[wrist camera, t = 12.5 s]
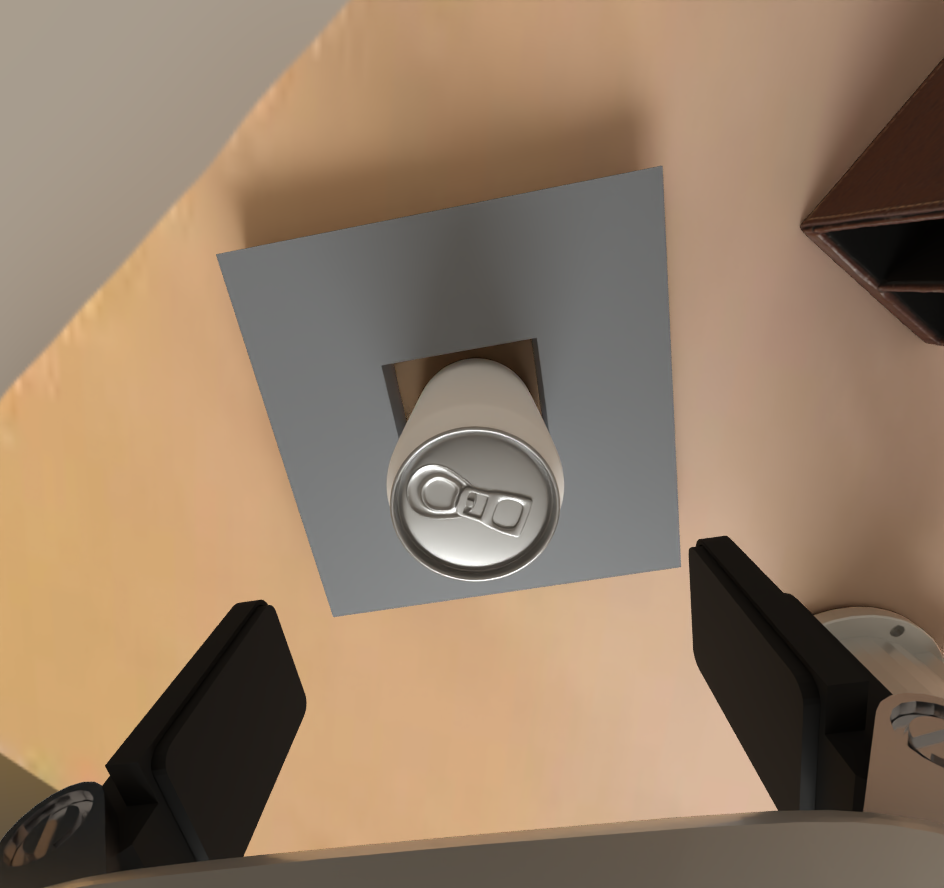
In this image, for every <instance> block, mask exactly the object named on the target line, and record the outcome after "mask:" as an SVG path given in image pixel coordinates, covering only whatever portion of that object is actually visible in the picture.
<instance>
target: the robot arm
mask: <svg viewBox="0 0 944 888" xmlns="http://www.w3.org/2000/svg"><path fill="white" fill-rule="evenodd" d="M689 572H690V592H691V613H692V634H693V651H694V656H695V660H696V663H697V666H698V668H699V670H700V671H701V673H702V675H703V677H704V679H705V680H706V682H707V684H708V686H709V688H710V689H711V691H712V693H713V695H714V697H715V698H716V700H717V702H718V704H719V706H720V707H721V709H722V711H723V713H724V714H725V716H726V718H727V720H728V722H729V723H730V725H731V727H732V729H733V731H734V732H735V734H736V736H737V738H738V740H739V741H740V743H741V745H742V747H743V749H744V750H745V752H746V754H747V756H748V757H749V759H750V761H751V763H752V765H753V766H754V768H755V770H756V772H757V774H758V775H759V777H760V779H761V781H762V783H763V784H764V786H765V788H766V790H767V791H768V793H769V795H770V797H771V799H772V800H773V802H774V804H775V806H776V808H777V809H778V811H766V812H751V813H736V814H721V815H706V816H691V817H676V818H663V819H651V820H640V821H628V822H616V823H605V824H593V825H581V826H569V827H558V828H546V829H534V830H523V831H512V832H501V833H490V834H479V835H468V836H457V837H445V838H434V839H424V840H413V841H402V842H391V843H381V844H370V845H359V846H348V847H338V848H328V849H318V850H308V851H298V852H288V853H277V854H267V855H257V856H247V857H243V856H244V854H245V851H246V849H247V847H248V844H249V842H250V840H251V838H252V835H253V833H254V831H255V828H256V826H257V824H258V821H259V819H260V817H261V814H262V812H263V810H264V807H265V805H266V803H267V800H268V798H269V796H270V793H271V791H272V789H273V787H274V784H275V782H276V780H277V777H278V775H279V773H280V770H281V768H282V766H283V763H284V761H285V759H286V756H287V754H288V752H289V749H290V747H291V745H292V743H293V740H294V738H295V736H296V733H297V731H298V729H299V726H300V724H301V722H302V719H303V717H304V714H305V711H306V696H305V693H304V690H303V687H302V684H301V681H300V678H299V676H298V673H297V670H296V667H295V664H294V661H293V659H292V656H291V653H290V650H289V647H288V644H287V642H286V639H285V636H284V633H283V630H282V627H281V625H280V622H279V619H278V616H277V613H276V611H275V609H274V607H273V606H271V605H268V604H267V603H266V602H265V601H264V600H256V601H249V602H241V603H237V604H235V605H234V606H233V607H232V608H231V610H230V611H229V612H228V613H227V615H226V616H225V617H224V618H223V620H222V621H221V622H220V623H219V625H218V626H217V627H216V628H215V630H214V631H213V632H212V633H211V635H210V636H209V637H208V638H207V640H206V641H205V642H204V643H203V645H202V646H201V647H200V648H199V650H198V651H197V652H196V653H195V654H194V656H193V657H192V658H191V659H190V661H189V662H188V663H187V664H186V666H185V667H184V668H183V669H182V671H181V672H180V673H179V674H178V676H177V677H176V678H175V679H174V681H173V682H172V683H171V684H170V686H169V687H168V688H167V689H166V691H165V692H164V693H163V694H162V695H161V697H160V698H159V699H158V700H157V702H156V703H155V704H154V705H153V707H152V708H151V709H150V710H149V712H148V713H147V714H146V715H145V717H144V718H143V719H142V720H141V722H140V723H139V724H138V725H137V727H136V728H135V729H134V730H133V732H132V733H131V734H130V735H129V736H128V738H127V739H126V740H125V741H124V743H123V744H122V745H121V746H120V748H119V749H118V750H117V751H116V753H115V754H114V755H113V756H112V758H111V759H110V760H109V761H108V763H107V764H106V765H105V767H106V769H107V770H108V772H109V774H110V777H109V778H108V779H107V780H106V782H105V783H104V784H103V786H102V785H100V784H98V783H96V782H81V783H78V784H75V785H71V786H68V787H66V788H64V789H62V790H60V791H58V792H56V793H54V794H52V795H51V796H49V797H48V798H46V799H45V800H43V801H42V802H40V803H39V804H37V805H36V806H35V807H34V808H32V809H31V810H30V811H29V812H27V813H26V814H25V815H24V816H23V817H21V818H20V819H19V820H18V822H16V823H15V824H14V825H13V827H12V828H11V829H10V830H9V831H8V832H7V833H6V834H5V836H4V837H3V838H2V840H1V841H0V888H944V658H943V655H942V652H941V650H940V648H939V647H938V645H937V644H936V642H935V641H934V639H933V638H932V637H931V636H929V635H928V634H927V633H926V632H925V631H924V630H923V629H921V628H920V627H919V626H917V625H916V624H915V623H913V622H912V621H910V620H909V619H907V618H906V617H904V616H902V615H899V614H897V613H894V612H892V611H889V610H884V609H879V608H873V607H848V608H840V609H833V610H829V611H826V612H822V613H819V614H815V615H813V614H812V613H811V612H810V611H809V610H808V609H807V608H806V607H805V606H804V605H803V604H802V603H801V602H800V601H799V600H798V599H796V598H795V597H794V596H792V595H791V594H787V593H783V592H782V591H781V590H780V589H779V588H778V587H777V586H776V585H775V584H774V583H773V582H772V581H771V580H770V579H769V578H768V577H767V576H766V575H765V574H764V573H763V572H762V571H761V570H760V568H759V567H758V566H757V565H756V564H755V563H754V562H753V561H752V560H751V559H750V558H749V557H748V556H747V555H746V554H745V553H744V552H743V551H742V550H741V549H740V548H739V547H738V546H737V545H736V544H735V543H734V542H733V541H732V540H731V539H730V538H729V537H728V536H720V537H713V538H705V539H699V540H698V541H697V544H696V547H691V548H690V549H689Z"/></svg>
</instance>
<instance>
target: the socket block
mask: <svg viewBox="0 0 944 888" xmlns="http://www.w3.org/2000/svg"><path fill="white" fill-rule="evenodd" d="M216 256H217V259H218V262H219V265H220V268H221V271H222V275H223V278H224V281H225V284H226V287H227V290H228V293H229V296H230V299H231V302H232V306H233V309H234V312H235V315H236V318H237V321H238V324H239V327H240V330H241V333H242V336H243V340H244V343H245V346H246V349H247V352H248V355H249V358H250V361H251V364H252V367H253V370H254V374H255V377H256V380H257V383H258V386H259V389H260V392H261V395H262V398H263V401H264V404H265V408H266V411H267V414H268V417H269V420H270V423H271V426H272V429H273V432H274V435H275V438H276V442H277V445H278V448H279V451H280V454H281V457H282V460H283V463H284V466H285V469H286V472H287V476H288V479H289V482H290V485H291V488H292V491H293V494H294V497H295V500H296V503H297V506H298V510H299V513H300V516H301V519H302V522H303V525H304V528H305V531H306V534H307V537H308V540H309V544H310V547H311V550H312V553H313V556H314V559H315V562H316V565H317V568H318V571H319V574H320V578H321V581H322V584H323V587H324V590H325V593H326V596H327V599H328V602H329V605H330V608H331V612H332V615H333V617H337V616H344V615H351V614H358V613H365V612H372V611H379V610H386V609H393V608H400V607H407V606H414V605H421V604H428V603H435V602H442V601H448V600H455V599H462V598H469V597H476V596H483V595H490V594H497V593H504V592H511V591H518V590H525V589H532V588H539V587H546V586H553V585H560V584H567V583H573V582H580V581H587V580H594V579H601V578H608V577H615V576H622V575H629V574H636V573H643V572H650V571H657V570H664V569H671V568H678V567H681V557H680V535H679V514H678V492H677V470H676V449H675V427H674V405H673V384H672V362H671V340H670V319H669V297H668V275H667V254H666V232H665V210H664V189H663V167H662V166H658V167H653V168H648V169H643V170H638V171H633V172H628V173H623V174H618V175H613V176H608V177H603V178H598V179H593V180H588V181H583V182H578V183H573V184H568V185H563V186H558V187H552V188H547V189H542V190H537V191H532V192H527V193H522V194H517V195H512V196H507V197H502V198H497V199H492V200H487V201H482V202H477V203H472V204H467V205H462V206H457V207H452V208H447V209H442V210H437V211H432V212H427V213H422V214H417V215H412V216H407V217H402V218H397V219H392V220H387V221H382V222H377V223H371V224H366V225H361V226H356V227H351V228H346V229H341V230H336V231H331V232H326V233H321V234H316V235H311V236H306V237H301V238H296V239H291V240H286V241H281V242H276V243H271V244H266V245H261V246H256V247H251V248H246V249H241V250H236V251H231V252H226V253H221V254H216ZM527 339H531V340H532V347H533V354H534V362H535V369H536V376H537V384H538V391H539V398H540V406H541V413H542V419H543V421H544V423H545V425H546V427H547V430H548V432H549V434H550V436H551V438H552V440H553V443H554V445H555V447H556V450H557V452H558V455H559V458H560V461H561V465H562V470H563V476H564V495H563V501H562V505H561V508H560V514H559V520H558V524H557V527H556V530H555V532H554V534H553V537H552V538H551V540H550V542H549V543H548V545H547V546H546V548H545V549H544V550H543V552H542V553H541V554H540V555H539V556H538V557H537V558H536V559H535V560H534V561H532V562H531V563H530V564H528V565H527V566H526V567H524V568H522V569H521V570H519V571H517V572H515V573H513V574H511V575H508V576H505V577H502V578H499V579H494V580H489V581H462V580H456V579H452V578H449V577H445V576H443V575H440V574H438V573H436V572H434V571H432V570H430V569H428V568H427V567H425V566H424V565H422V564H421V563H419V562H418V561H417V560H416V559H415V558H414V557H413V556H412V555H411V554H410V553H409V552H408V551H407V550H406V548H405V547H404V546H403V544H402V543H401V541H400V540H399V538H398V536H397V534H396V531H395V529H394V526H393V523H392V519H391V513H390V506H389V502H388V497H387V473H388V468H389V463H390V460H391V457H392V454H393V451H394V449H395V447H396V444H397V442H398V440H399V438H400V436H401V434H402V432H403V429H404V427H405V425H406V423H407V421H406V417H405V412H404V408H403V404H402V399H401V395H400V391H399V386H398V382H397V377H396V373H395V369H394V364H393V363H398V362H404V361H409V360H415V359H420V358H426V357H432V356H437V355H443V354H448V353H454V352H460V351H465V350H471V349H476V348H482V347H488V346H493V345H499V344H504V343H510V342H516V341H521V340H527Z"/></svg>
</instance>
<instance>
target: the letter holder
mask: <svg viewBox="0 0 944 888" xmlns="http://www.w3.org/2000/svg"><path fill="white" fill-rule="evenodd" d="M800 228H801V230H802V231H803V232H804V233H805V234H806V236H808V237H809V238H810V239H811V240H812V241H813V242H814V243H815V244H816V245H817V246H818V247H820V248H821V249H822V250H823V251H824V252H825V253H826V254H827V255H828V256H829V257H831V258H832V259H833V260H834V262H836V263H837V264H838V265H839V266H840V267H842V268H843V269H844V270H845V271H846V272H847V273H848V274H849V275H850V276H851V277H852V278H854V279H855V280H856V281H857V282H858V283H859V284H860V285H861V286H862V287H864V288H865V289H866V290H867V291H869V293H870V294H871V295H872V296H873V297H874V298H876V299H877V301H879V302H880V303H881V304H882V305H884V306H885V307H886V308H887V309H888V310H889V311H890V312H891V313H893V315H894V316H896V317H897V318H898V319H899V320H900V321H901V322H902V323H903V324H904V325H906V326H907V327H908V328H909V329H911V330H912V332H914V333H915V334H916V335H917V336H919V337H920V338H921V339H922V340H923V341H924V342H926V343H929V344H936V345H941V346H944V59H943V60H942V61H941V62H940V63H939V64H938V66H937V67H936V68H935V69H934V70H933V71H932V73H931V74H930V75H929V76H928V77H927V79H926V80H925V81H924V82H923V83H922V84H921V86H920V87H919V88H918V89H917V90H916V92H915V93H914V94H913V95H912V96H911V97H910V99H909V100H908V101H907V102H906V103H905V104H904V106H903V107H902V108H901V109H900V110H899V112H898V113H897V114H896V115H895V116H894V117H893V119H892V120H891V121H890V122H889V123H888V124H887V125H886V127H885V128H884V129H883V130H882V131H881V133H880V134H879V135H878V136H877V137H876V138H875V140H874V141H873V142H872V143H871V144H870V145H869V147H868V148H867V149H866V150H865V151H864V152H863V154H862V155H861V156H860V157H859V158H858V159H857V161H856V162H855V163H854V164H853V165H852V166H851V168H850V169H849V170H848V171H847V172H846V174H845V175H844V176H843V177H842V178H841V179H840V181H839V182H838V183H837V184H836V185H835V186H834V188H833V189H832V190H831V191H830V192H829V194H828V195H827V196H826V197H825V198H824V199H823V200H822V201H821V202H820V204H819V205H818V206H817V207H816V208H815V209H814V211H813V212H812V213H811V214H810V215H809V216H808V217H807V218H806V219H805V221H804V222H803V223H802V224H801V226H800Z"/></svg>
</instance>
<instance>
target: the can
mask: <svg viewBox="0 0 944 888" xmlns="http://www.w3.org/2000/svg"><path fill="white" fill-rule="evenodd" d="M563 495H564V476H563V470H562V465H561V461H560V458H559V455H558V452H557V450H556V447H555V445H554V443H553V440H552V438H551V436H550V434H549V432H548V430H547V427H546V425H545V423H544V421H543V419H542V417H541V415H540V412H539V410H538V408H537V406H536V404H535V402H534V400H533V398H532V396H531V394H530V392H529V390H528V388H527V387H526V385H525V384H524V382H523V381H522V380H521V378H520V377H519V376H518V375H517V374H516V373H514V372H513V371H512V370H511V369H509V368H508V367H506V366H504V365H502V364H500V363H498V362H495V361H492V360H488V359H481V358H471V359H464V360H460V361H457V362H454V363H452V364H450V365H448V366H446V367H444V368H443V369H442V370H440V371H439V372H438V373H437V374H436V375H435V376H434V377H433V378H432V379H431V380H430V381H429V382H428V383H427V385H426V386H425V388H424V390H423V391H422V393H421V395H420V397H419V399H418V401H417V403H416V405H415V407H414V409H413V411H412V413H411V415H410V417H409V419H408V421H407V423H406V425H405V427H404V429H403V432H402V434H401V436H400V438H399V440H398V442H397V444H396V447H395V449H394V451H393V454H392V457H391V460H390V463H389V468H388V473H387V497H388V502H389V506H390V513H391V519H392V523H393V526H394V529H395V531H396V534H397V536H398V538H399V540H400V541H401V543H402V544H403V546H404V547H405V548H406V550H407V551H408V552H409V553H410V554H411V555H412V556H413V557H414V558H415V559H416V560H417V561H418V562H419V563H421V564H422V565H424V566H425V567H427V568H428V569H430V570H432V571H434V572H436V573H438V574H440V575H443V576H445V577H449V578H452V579H456V580H462V581H489V580H494V579H499V578H502V577H505V576H508V575H511V574H513V573H515V572H517V571H519V570H521V569H522V568H524V567H526V566H527V565H528V564H530V563H531V562H532V561H534V560H535V559H536V558H537V557H538V556H539V555H540V554H541V553H542V552H543V550H544V549H545V548H546V546H547V545H548V543H549V542H550V540H551V538H552V537H553V534H554V532H555V530H556V527H557V524H558V520H559V514H560V508H561V505H562V501H563Z"/></svg>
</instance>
